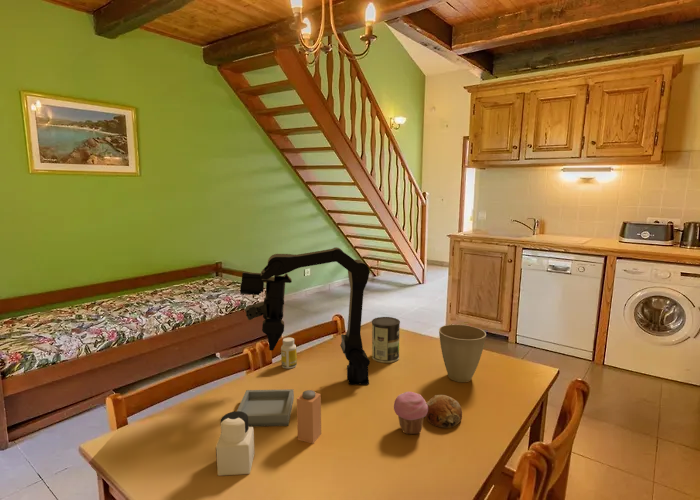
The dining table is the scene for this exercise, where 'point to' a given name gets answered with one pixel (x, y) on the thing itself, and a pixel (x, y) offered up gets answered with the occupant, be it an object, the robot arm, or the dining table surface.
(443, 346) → the plant pot
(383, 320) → the coffee can
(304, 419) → the block
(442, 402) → the bread roll
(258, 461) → the dining table surface
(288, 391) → the tray
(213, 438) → the dining table surface
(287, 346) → the supplement bottle
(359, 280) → the robot arm
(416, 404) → the cupcake
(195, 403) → the dining table surface
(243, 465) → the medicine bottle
